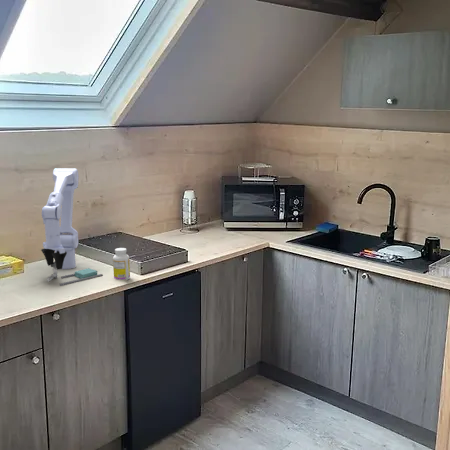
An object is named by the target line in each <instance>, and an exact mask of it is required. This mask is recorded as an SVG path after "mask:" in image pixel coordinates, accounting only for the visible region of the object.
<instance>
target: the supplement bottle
mask: <svg viewBox="0 0 450 450" xmlns="http://www.w3.org/2000/svg"><path fill="white" fill-rule="evenodd" d="M114 253H115V254H114V255H113V257H112V264H113V265H112V266H113V270H112V271H113V278H114V279H115V280H126V281H128V280H129V279H130V278H131V269H130V268H131V266H130V256H129V255H128V254H127V248H126V247H117V248H115V249H114Z"/></svg>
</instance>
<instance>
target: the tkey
mask: <svg viewBox="0 0 450 450" xmlns="http://www.w3.org/2000/svg"><path fill="white" fill-rule="evenodd" d="M50 267H51V268H52V270H53V273H52V274H50V275H49V276H48V277H46V282H50V281H52V280H53V279H54V280H56V279H57V280H58V270H57V268H56V264H55V261H54V262H53V263H52V264H51V265H50Z"/></svg>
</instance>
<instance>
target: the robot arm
mask: <svg viewBox="0 0 450 450" xmlns="http://www.w3.org/2000/svg"><path fill="white" fill-rule="evenodd" d="M79 178H80V176H79V170H78V169H77V168H74V167H73V168H58V167H57V168H56V167H55V168H54V169H53V171H52V180H53V182H54V187H53V192H52V191H51V192H50V194H49V196H48V198H47V202H46V204H45V205H44V206H43V207H42V209H41V218H42V222H43V225H44V232H45V233H44V234H45V235H44V236H45V241H43V242H42V247H43V248H41V250H40V251H41V252H42V254H43V255H44V258H45V262H46V264H47V266H48V267H51V264H52V263H53V262H55V264H56V268H57V271H59V270H69V269H74V268H76V266H77V265H76V263H77V262H76V249H77V248H78V246H79V232H78V230H76V228H74V227H73V215H74V214H73V213H74V212H73V210H74V195H75V194H74V193H75V190H77V189H78V188H79V187H78V186H79Z"/></svg>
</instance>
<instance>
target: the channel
mask: <svg viewBox="0 0 450 450" xmlns="http://www.w3.org/2000/svg"><path fill="white" fill-rule="evenodd" d="M70 277H71V278H72V277H75V272H74V273H70V274H67V275H66V274H65V275H62V276H61V275H60V278H61V279H67V278H70ZM100 277H103V273H99V274H98V273H97V275H94V276H90V277H86V278H82V279H81V278H77V279H72V280H69V281H65V282H61V283H59V286H60V287H64V286H68V285H71V284H76V283H79V282H84V281H88V280H91V279H96V278H100Z"/></svg>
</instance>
